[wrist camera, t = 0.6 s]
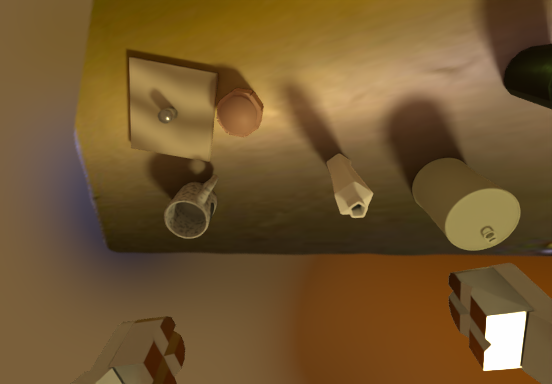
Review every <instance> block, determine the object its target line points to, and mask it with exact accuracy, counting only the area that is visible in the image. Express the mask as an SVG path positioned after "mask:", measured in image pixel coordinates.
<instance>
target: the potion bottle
mask: <svg viewBox="0 0 552 384" xmlns="http://www.w3.org/2000/svg"><path fill="white" fill-rule="evenodd" d="M504 81H505V86H506V89H507V90H508V91H509V93H510V94H511V95H514V96H516V97H519V98H522V99H524V100H527V101H530V102H533V103H536V104H539V105H541V106H544V107H547V108H550V109H552V44H549V45H541V46H534V47H530V48H528V49H526V50H524V51H521V52H520V53H519V54H518V55H517V56H516V57H515V58H513V59H512V61H511V63H510V64H509V66H508V68H507V69H506V74H505V78H504Z"/></svg>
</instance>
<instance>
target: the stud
mask: <svg viewBox="0 0 552 384" xmlns="http://www.w3.org/2000/svg"><path fill="white" fill-rule="evenodd" d="M177 116H178V112H177V110H176V109H175V108H174V107H168V108H166V109H163V110H161V111H160V112H159V113H158V119H159V121H160V122H162V123H165V124H166V123H169V122H170V121H172V120H174V119H175V118H176V117H177Z"/></svg>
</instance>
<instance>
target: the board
mask: <svg viewBox="0 0 552 384" xmlns="http://www.w3.org/2000/svg"><path fill="white" fill-rule="evenodd" d="M129 72H130V116H131V148H133V149H139V150H145V151H150V152H156V153H162V154H167V155H173V156H179V157H184V158H190V159H196V160H202V161H207V162H209V161H210V160H211V150H212V139H213V128H214V117H215V106H216V95H217V84H218V73H216V72H210V71H205V70H200V69H194V68H189V67H184V66H178V65H173V64H168V63H162V62H157V61H152V60H146V59H141V58H136V57H129ZM168 107H174V108H175V109H176V110H177V112H178V116H177V117H176V118H175V119H174V120H172V121H170V122H169V123H166V124H165V123H162V122H160V121H159V119H158V113H159V112H160V111H161V110H163V109H166V108H168Z"/></svg>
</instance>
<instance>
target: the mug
mask: <svg viewBox="0 0 552 384" xmlns="http://www.w3.org/2000/svg"><path fill="white" fill-rule="evenodd" d="M217 180H218V177H217V175H213V176H212V177H211V178H210V179H209V180H208V181H206V182H205V183H200V182H190V183H187V184H186V185H184V186H183V187H182V188H181V189H180V190H179V192H178V193H177V194H176V196H175V197H174V198H173V200H172V201H171V202H170V203H169V205H168V206H167V207H166V209H165V212H164V221H165V224H166V226H167V227H168V229H169V230H170V231H171V232H173V233H174V234H175V235H177V236H179V237H183V238H195V237H198V236H200V235H202V234H203V233H204V232H205V230H206V229H207V227H208V225H209V222H210V220H211V218H212V216H213V213H214V211H215V209H216V206H217V197H216V194H215V192H214V191H213V190H212V189H213V187H214V186H215V184H216V182H217Z"/></svg>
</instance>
